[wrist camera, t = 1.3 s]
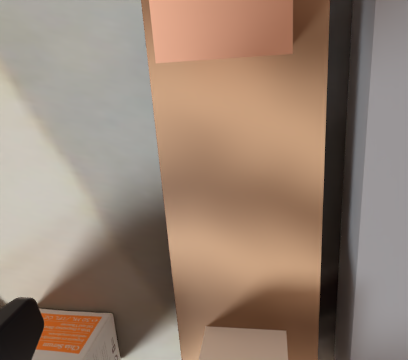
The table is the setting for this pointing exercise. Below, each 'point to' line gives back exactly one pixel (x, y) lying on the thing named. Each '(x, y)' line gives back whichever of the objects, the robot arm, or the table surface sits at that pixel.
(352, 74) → the dock
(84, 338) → the skincare box
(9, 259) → the table surface
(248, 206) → the pallet
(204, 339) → the pinkish white cube
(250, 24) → the block
